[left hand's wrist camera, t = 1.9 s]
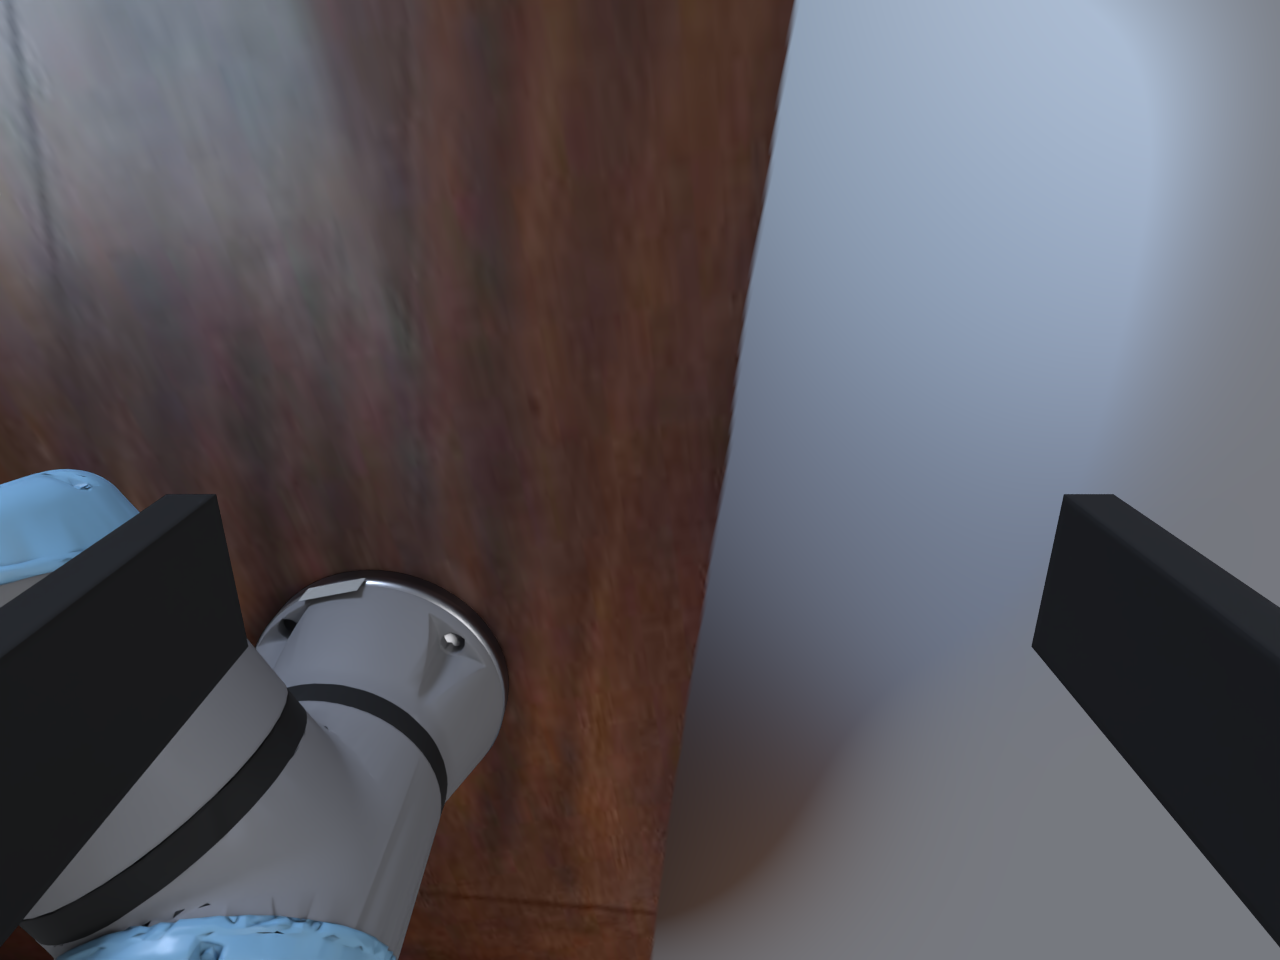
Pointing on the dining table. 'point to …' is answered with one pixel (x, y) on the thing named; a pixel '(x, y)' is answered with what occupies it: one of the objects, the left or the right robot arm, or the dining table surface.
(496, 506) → the dining table surface
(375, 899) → the left robot arm
